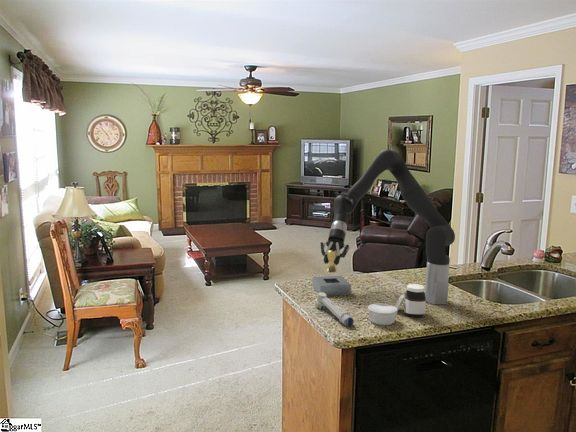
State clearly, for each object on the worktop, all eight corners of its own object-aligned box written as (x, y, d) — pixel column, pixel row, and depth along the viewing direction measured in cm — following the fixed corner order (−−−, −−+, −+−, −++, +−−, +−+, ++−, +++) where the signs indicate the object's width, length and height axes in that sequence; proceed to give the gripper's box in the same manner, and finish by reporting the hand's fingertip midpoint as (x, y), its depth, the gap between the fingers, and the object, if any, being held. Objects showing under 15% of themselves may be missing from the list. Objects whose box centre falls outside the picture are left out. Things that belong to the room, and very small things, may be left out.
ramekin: (394, 316, 190) (395, 303, 189) (398, 327, 179) (399, 314, 178) (366, 315, 191) (366, 302, 190) (368, 325, 180) (368, 312, 179)
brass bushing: (337, 272, 218) (338, 251, 216) (328, 272, 217) (328, 251, 215) (334, 269, 222) (335, 249, 221) (325, 269, 221) (326, 249, 220)
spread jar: (426, 319, 188) (428, 290, 186) (397, 318, 188) (399, 289, 186) (419, 308, 199) (421, 281, 197) (392, 307, 200) (393, 280, 198)
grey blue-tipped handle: (343, 318, 177) (313, 289, 199) (342, 334, 179) (312, 303, 201) (356, 316, 179) (324, 288, 201) (354, 332, 181) (323, 302, 203)
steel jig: (350, 294, 216) (350, 284, 215) (320, 295, 213) (320, 285, 212) (341, 284, 229) (341, 275, 228) (312, 286, 226) (312, 276, 226)
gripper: (321, 226, 226) (314, 257, 216) (351, 229, 221) (345, 261, 212) (324, 235, 232) (317, 266, 222) (353, 238, 227) (347, 269, 218)
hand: (330, 263), depth 217 cm, fingers closed on brass bushing, 4 cm apart
